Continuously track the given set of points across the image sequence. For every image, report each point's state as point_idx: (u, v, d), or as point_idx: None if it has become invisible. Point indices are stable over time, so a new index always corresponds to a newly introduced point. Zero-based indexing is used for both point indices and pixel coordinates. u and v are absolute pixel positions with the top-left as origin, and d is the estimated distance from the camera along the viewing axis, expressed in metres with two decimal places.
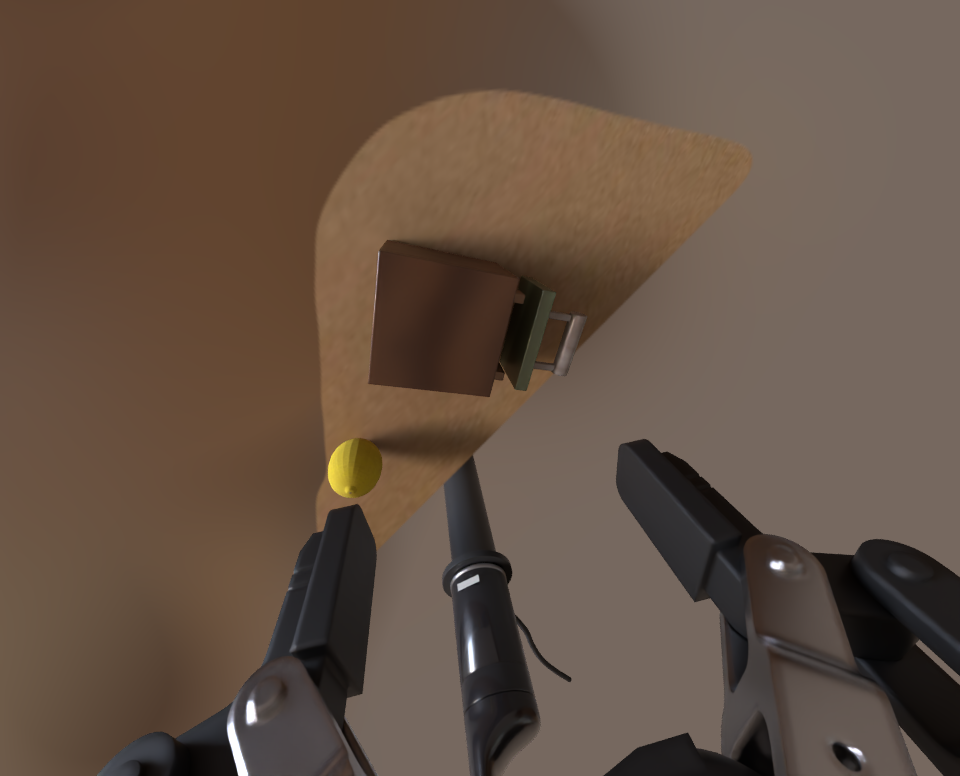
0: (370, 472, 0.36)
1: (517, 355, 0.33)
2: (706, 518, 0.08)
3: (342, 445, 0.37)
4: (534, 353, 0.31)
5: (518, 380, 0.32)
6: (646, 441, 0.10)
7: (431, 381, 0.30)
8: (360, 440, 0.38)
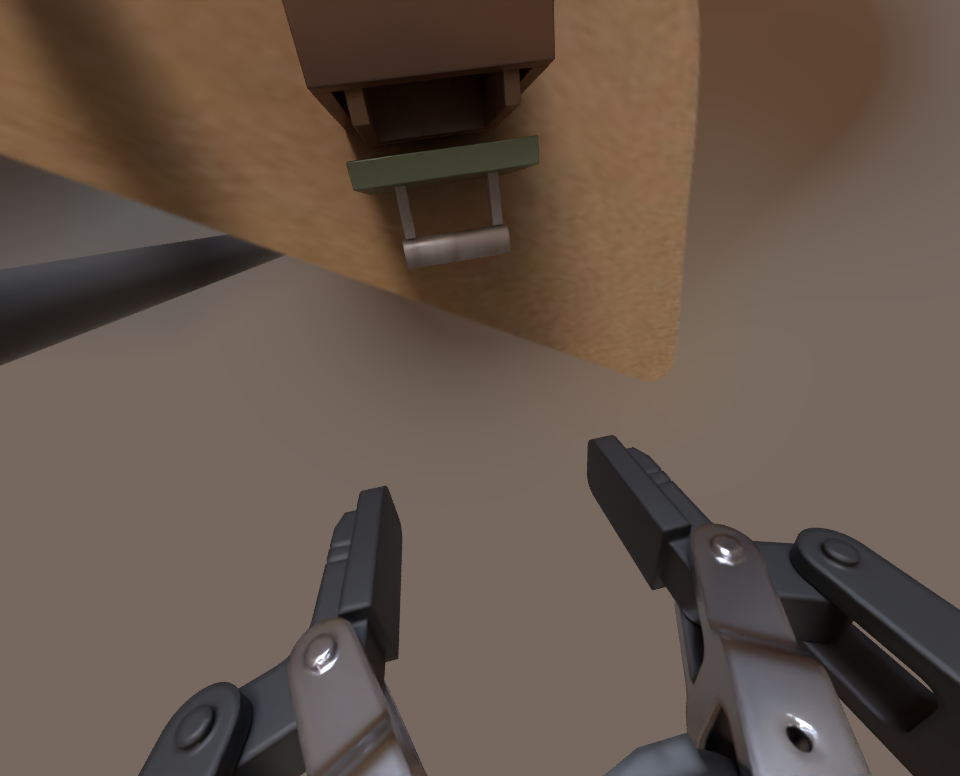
0: None
1: None
2: (660, 509, 0.08)
3: None
4: (430, 171, 0.17)
5: (368, 160, 0.16)
6: (613, 437, 0.10)
7: None
8: None
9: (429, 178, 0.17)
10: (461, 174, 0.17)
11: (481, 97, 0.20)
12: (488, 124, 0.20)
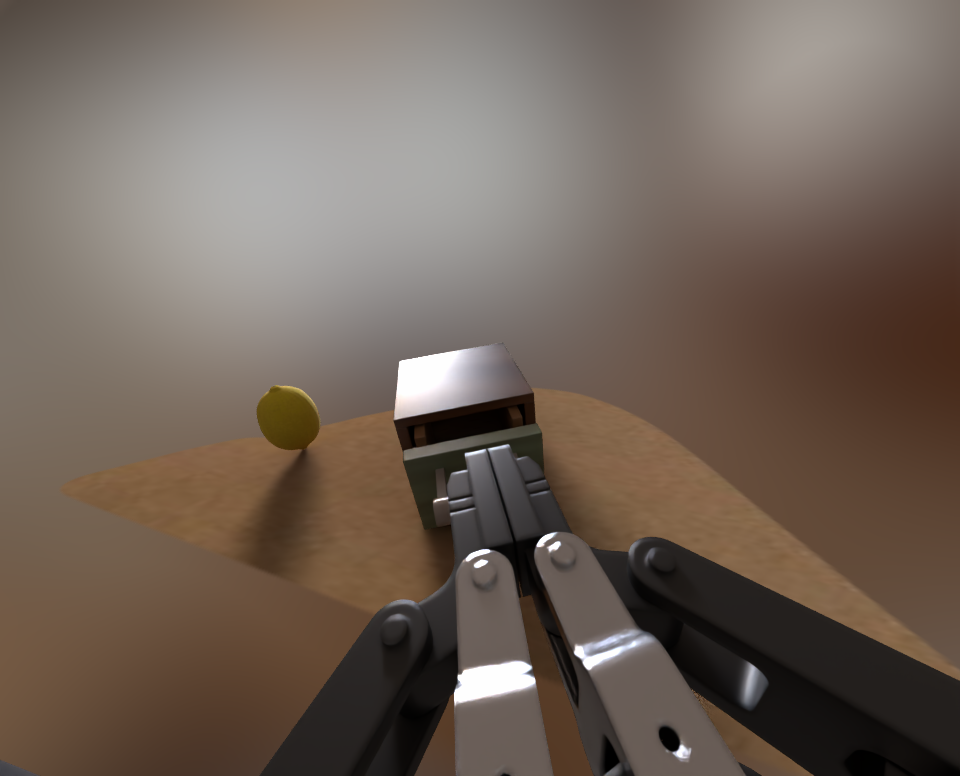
0: (288, 405, 0.34)
1: None
2: (522, 519, 0.08)
3: None
4: (460, 446, 0.23)
5: (418, 447, 0.23)
6: (507, 446, 0.11)
7: (407, 383, 0.30)
8: (319, 424, 0.37)
9: (459, 449, 0.23)
10: (483, 445, 0.23)
11: None
12: None
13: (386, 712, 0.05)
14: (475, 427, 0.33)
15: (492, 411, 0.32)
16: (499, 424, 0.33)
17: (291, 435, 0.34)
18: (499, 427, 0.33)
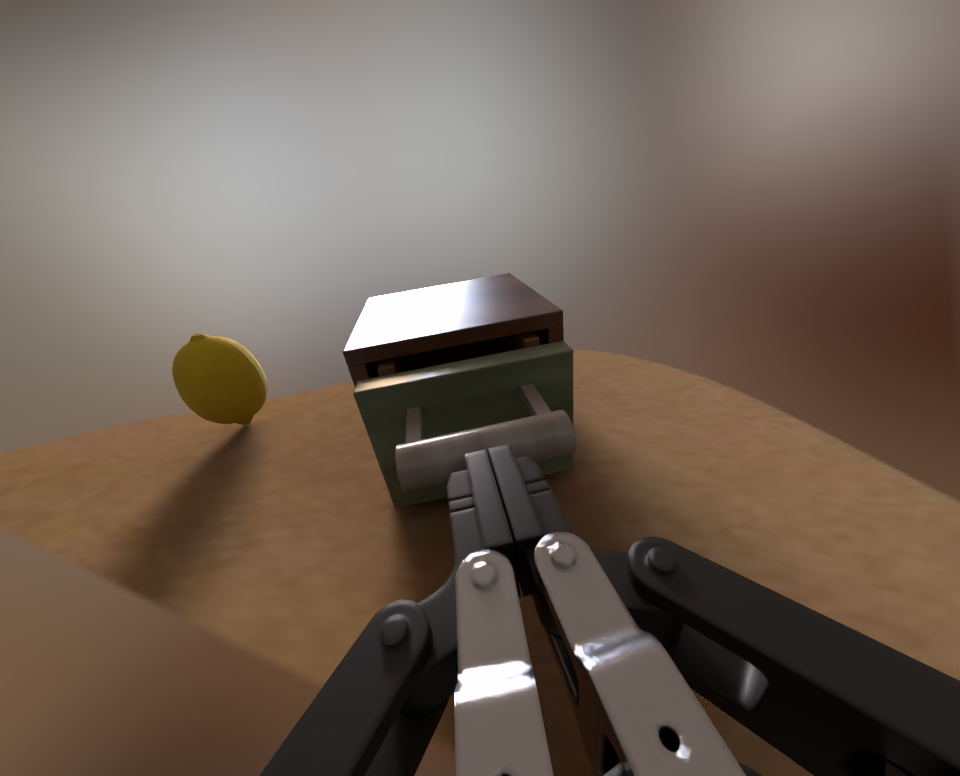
0: (215, 358, 0.24)
1: None
2: (522, 519, 0.08)
3: None
4: (445, 371, 0.15)
5: (380, 376, 0.15)
6: (507, 446, 0.11)
7: (373, 315, 0.21)
8: (264, 389, 0.28)
9: (443, 374, 0.14)
10: (481, 369, 0.14)
11: None
12: None
13: (386, 712, 0.05)
14: None
15: None
16: None
17: (220, 401, 0.25)
18: None
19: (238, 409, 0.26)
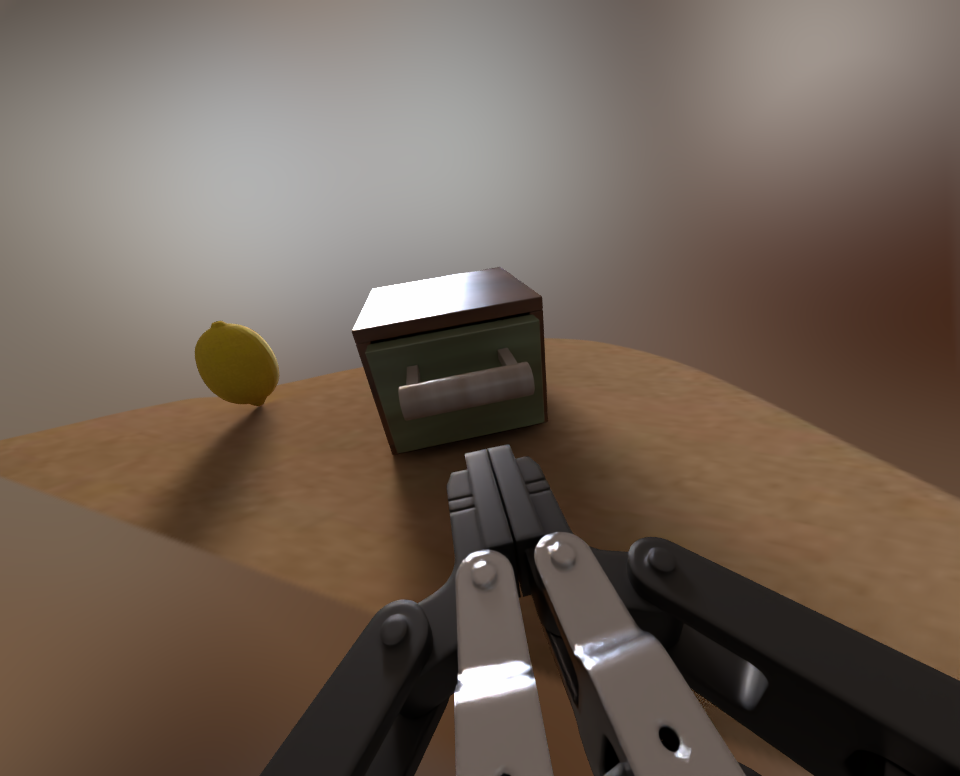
0: (233, 343, 0.27)
1: None
2: (522, 519, 0.08)
3: None
4: (437, 336, 0.18)
5: (386, 341, 0.19)
6: (507, 446, 0.11)
7: (377, 302, 0.23)
8: (276, 373, 0.30)
9: (436, 338, 0.18)
10: (466, 334, 0.18)
11: None
12: None
13: (386, 712, 0.05)
14: None
15: None
16: None
17: (238, 382, 0.28)
18: None
19: (253, 390, 0.29)
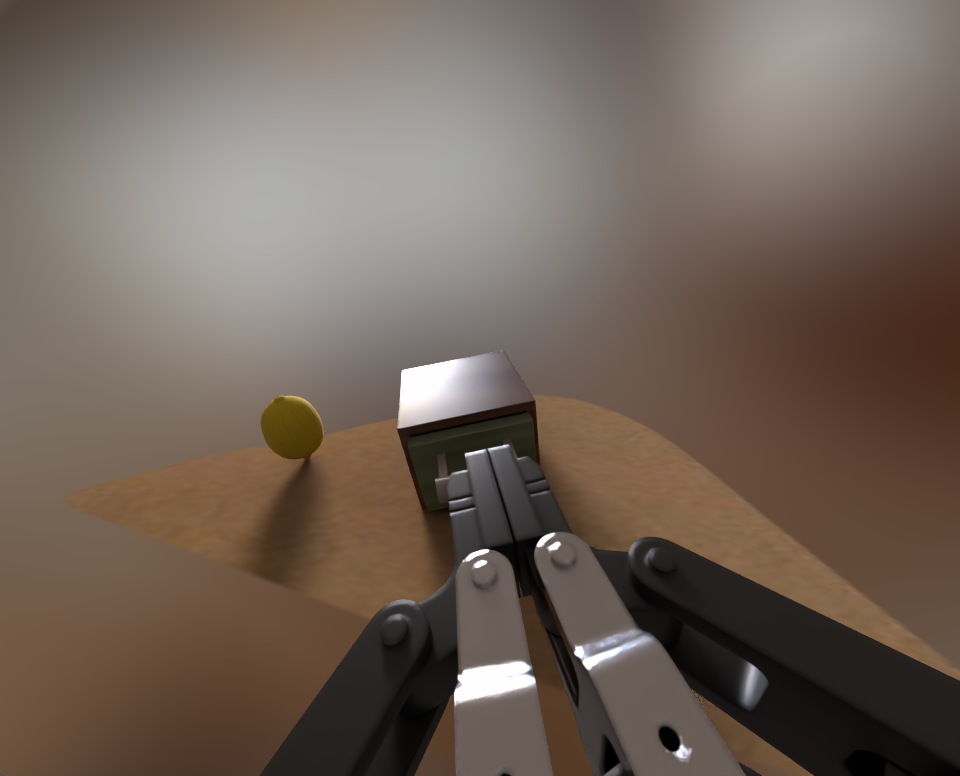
0: (292, 415, 0.34)
1: None
2: (522, 518, 0.08)
3: None
4: (459, 433, 0.25)
5: (421, 435, 0.26)
6: (507, 446, 0.11)
7: (410, 392, 0.30)
8: (322, 433, 0.37)
9: (458, 435, 0.25)
10: (480, 432, 0.25)
11: None
12: None
13: (386, 712, 0.05)
14: None
15: None
16: (496, 417, 0.35)
17: (295, 444, 0.35)
18: None
19: (306, 449, 0.36)
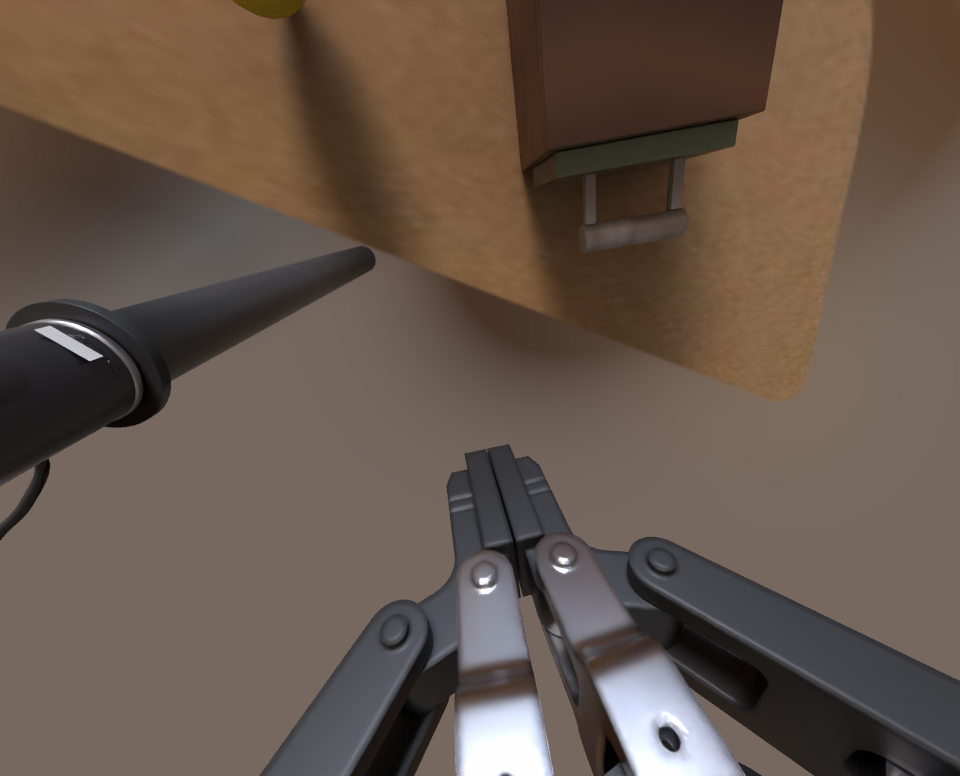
0: None
1: None
2: (521, 519, 0.08)
3: None
4: (629, 157, 0.18)
5: (575, 149, 0.18)
6: (507, 446, 0.11)
7: None
8: None
9: (627, 164, 0.18)
10: (657, 159, 0.18)
11: None
12: None
13: (386, 712, 0.05)
14: None
15: None
16: None
17: (286, 6, 0.18)
18: None
19: (302, 4, 0.19)
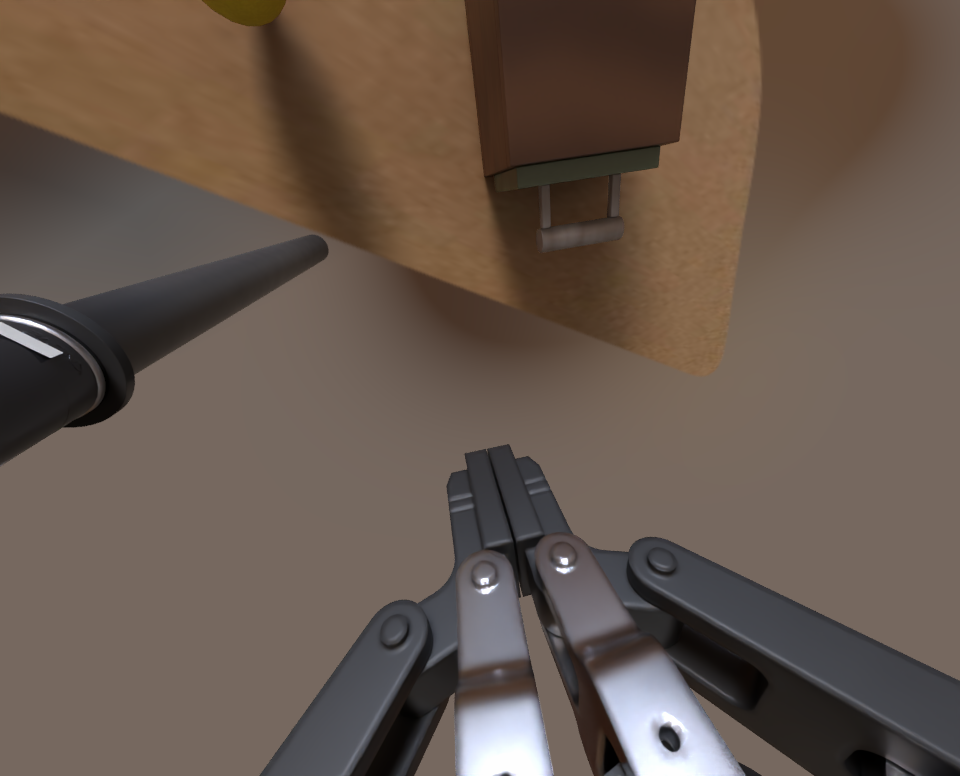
0: None
1: None
2: (522, 519, 0.08)
3: None
4: (576, 173, 0.22)
5: (532, 165, 0.21)
6: (507, 446, 0.11)
7: (518, 37, 0.17)
8: None
9: (575, 179, 0.22)
10: (598, 176, 0.22)
11: None
12: None
13: (386, 712, 0.05)
14: None
15: None
16: None
17: (265, 17, 0.19)
18: None
19: (278, 14, 0.20)
